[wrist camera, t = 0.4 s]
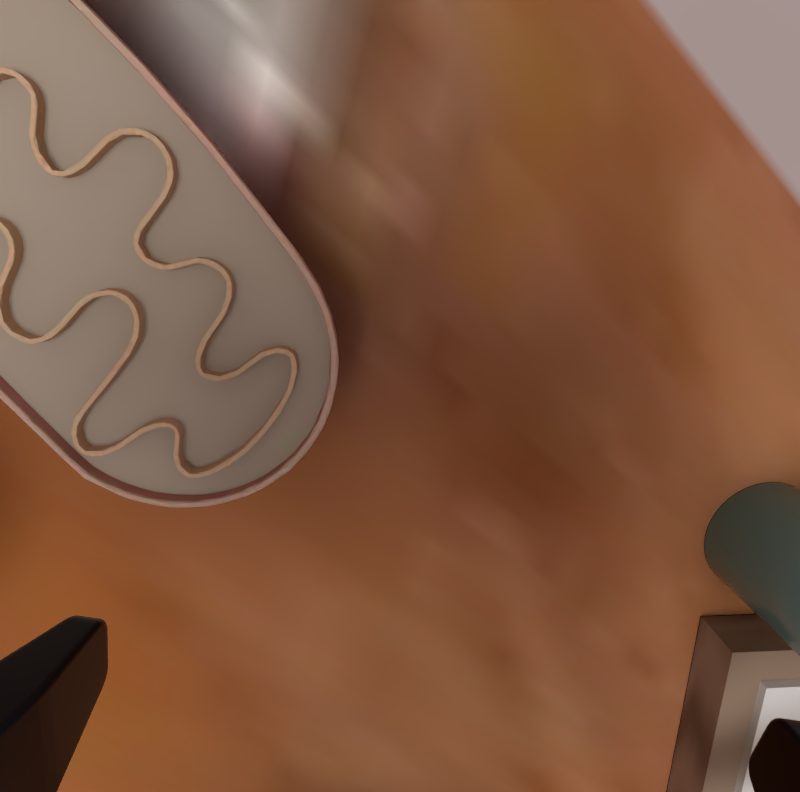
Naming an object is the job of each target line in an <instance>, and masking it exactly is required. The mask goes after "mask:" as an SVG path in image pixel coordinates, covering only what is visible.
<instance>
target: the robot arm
mask: <svg viewBox="0 0 800 792" xmlns="http://www.w3.org/2000/svg"><path fill="white" fill-rule="evenodd" d="M107 670H108V637H107V625H106V622H105V621H104V620H102V619H98V618H91V617H84V616H72V617H69V618H67V619H65V620H64V621H62V622H61V623H59V624H57V625H56V626H54V627H53V628H51V629H50V630H48V631H46V632H45V633H43V634H42V635H40V636H38V637H37V638H35V639H34V640H32V641H30V642H29V643H27V644H26V645H24V646H23V647H21V648H19V649H18V650H16V651H15V652H13V653H11V654H10V655H8V656H7V657H5V658H3V659H2V660H0V792H57V790H58V788H59V785H60V783H61V781H62V778H63V776H64V774H65V772H66V769H67V767H68V765H69V763H70V760H71V758H72V756H73V753H74V751H75V749H76V747H77V744H78V742H79V740H80V737H81V735H82V733H83V731H84V728H85V726H86V724H87V722H88V719H89V717H90V715H91V712H92V710H93V708H94V706H95V703H96V701H97V699H98V697H99V694H100V692H101V690H102V687H103V685H104V682H105V679H106V675H107ZM749 776H750V780H751V783H752V786H753V789H754V792H800V721H797V720H790V719H783V718H775V719H773V720H772V721H770V723H769V724H768V725H767V727H766V729H765V731H764V732H763V734H762V736H761V738H760V740H759V741H758V743H757V745H756V747H755V748H754V750H753V752H752V754H751V756H750V758H749Z"/></svg>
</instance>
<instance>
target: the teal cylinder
mask: <svg viewBox="0 0 800 792" xmlns="http://www.w3.org/2000/svg"><path fill="white" fill-rule="evenodd" d="M704 551H705V556H706V559H707V562H708V564H709V566H710V568H711V569H712V570H713V572H714V573H715V574H716V575H717V576H718V577H719V578H720V579H721V580H722V581H723V582H724V583H725V584H726V585H728V586H729V587H730V588H731V589H732V590H733V591H734V592H735V593H736V594H737V595H738V596H739V597H740V598H741V599H742V600H743V601H744V602H745V603H746V604H747V605H748V606H749V607H750V608H751V609H752V610H753V611H754V612H755V613H756V614H757V615H758V616H759V617H760V618H761V619H762V620H763V621H764V622H765V623H766V624H767V625H768V626H769V627H770V628H771V629H772V630H773V631H774V632H775V633H776V634H778V635H779V636H780V637H781V638H782V639H783V640H784V641H785V642H786V643H787V644H788V645H789V646H790V647H791V648H792V649H793V650H794V651H795V652H796V653H797V654H798V655H799V656H800V490H799V489H797V488H795V487H794V486H791V485H788V484H784V483H776V482H770V483H762V484H757V485H754V486H751V487H748V488H746V489H744V490H742V491H740V492H738V493H737V494H735V495H734V496H732V497H731V498H729V499H728V500H727V501H726V502H725V503H724V504H723V505H722V506H721V507H720V508H719V509H718V510H717V512H716V513H715V515H714V516H713V518H712V520H711V521H710V523H709V526H708V528H707V531H706V535H705V541H704Z"/></svg>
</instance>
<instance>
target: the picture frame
mask: <svg viewBox="0 0 800 792" xmlns="http://www.w3.org/2000/svg"><path fill="white" fill-rule="evenodd" d="M775 718H783V719H790V720H797V721H800V656H799V655H798V654H797V653H796V652H795V651H794V650H793V649H792V648H791V647H790V646H789V645H788V644H787V643H786V642H785V641H784V640H783V639H782V638H781V637H780V636H779V635H778V634H776V633H775V632H774V631H773V630H772V629H771V628H770V627H769V626H768V625H767V624H766V623H765V622H764V621H763V620H762V619H761V618H760V617H759V616H758V615H757V614H756V615H728V616H701V619H700V624H699V629H698V634H697V639H696V645H695V650H694V655H693V660H692V665H691V670H690V675H689V681H688V686H687V691H686V696H685V701H684V706H683V711H682V716H681V722H680V727H679V732H678V737H677V742H676V747H675V752H674V758H673V763H672V768H671V773H670V778H669V783H668V788H667V792H754V789H753V786H752V783H751V780H750V776H749V758H750V756H751V754H752V752H753V750H754V748H755V747H756V745H757V743H758V741H759V740H760V738H761V736H762V734H763V732H764V731H765V729H766V727H767V725H768V724H769V723H770V721H772V720H773V719H775Z"/></svg>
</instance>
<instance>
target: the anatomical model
mask: <svg viewBox="0 0 800 792" xmlns="http://www.w3.org/2000/svg"><path fill="white" fill-rule="evenodd" d="M338 368H339V355H338V341H337V335H336V330H335V326H334V322H333V318H332V313H331V311H330V309H329V306H328V304H327V301H326V299H325V297H324V294H323V292H322V289H321V287H320V286H319V284H318V282H317V281H316V279H315V277H314V276H313V274H312V273H311V271H310V269H309V268H308V266H307V265H306V263H305V261H304V260H303V258H302V257H301V255H300V254H299V253H298V251H297V250H296V249H295V248H294V246H293V245H292V244H291V242H290V241H289V240H288V238H287V237H286V236H285V235H284V233H283V232H282V231H281V229H280V228H279V227H278V225H277V224H276V223H275V222H274V220H273V219H272V218H271V216H270V215H269V214H268V212H267V211H266V210H265V209H264V207H263V206H262V205H261V203H260V202H259V201H258V199H257V198H256V197H255V195H254V194H253V193H252V192H251V190H250V189H249V188H248V186H247V185H246V184H245V182H244V181H243V180H242V179H241V177H240V176H239V175H238V173H237V172H236V171H235V169H234V168H233V167H232V166H231V164H230V163H229V162H228V160H227V159H226V158H225V156H224V155H223V154H222V153H221V151H220V150H219V149H218V147H217V146H216V145H215V144H214V143H213V142H212V140H211V139H210V138H209V137H208V136H207V135H206V133H205V132H204V131H203V130H202V129H201V128H200V127H199V125H198V124H197V123H196V122H195V121H194V120H193V118H192V117H191V116H190V115H189V114H188V113H187V112H186V110H185V109H184V108H183V107H182V106H181V105H180V103H179V102H178V101H177V100H176V99H175V98H174V97H173V95H172V94H171V93H170V92H169V91H168V90H167V88H166V87H165V86H164V85H163V84H162V83H161V82H160V80H159V79H158V78H157V77H156V76H155V75H154V73H153V72H152V71H151V70H150V69H149V68H148V67H147V66H146V65H145V64H144V63H143V62H142V60H141V59H140V58H139V57H138V56H137V55H136V54H135V53H134V52H133V51H132V50H131V49H130V48H129V47H128V46H127V45H126V44H125V43H124V42H123V41H122V39H121V38H120V37H119V36H118V35H117V34H116V33H115V32H114V31H113V30H112V29H111V28H110V27H109V26H108V25H107V24H106V23H105V22H104V21H103V20H102V19H101V17H100V16H99V15H98V14H97V13H96V12H95V11H94V10H93V9H92V8H91V7H90V6H89V5H87V4H86V3H85V2H84V1H83V0H0V398H1V399H2V400H3V401H4V402H5V403H6V404H7V405H8V406H9V407H10V408H11V409H12V410H13V411H14V412H15V413H16V414H17V415H18V416H19V417H20V418H21V419H22V420H23V421H24V422H26V423H27V424H28V425H29V426H30V427H31V428H32V429H33V430H34V431H35V432H36V433H37V434H38V435H39V436H40V437H41V438H42V439H43V440H44V441H45V442H46V443H47V444H48V445H49V446H50V447H51V448H52V449H53V450H54V451H55V452H56V453H57V454H59V455H60V456H61V457H62V458H63V459H64V460H65V461H66V462H67V463H68V464H69V465H70V466H71V467H72V468H74V469H75V470H76V471H77V472H78V473H79V474H80V475H81V476H82V477H84V478H85V479H87V480H89V481H91V482H93V483H95V484H97V485H99V486H101V487H103V488H105V489H107V490H109V491H111V492H113V493H115V494H117V495H119V496H122V497H125V498H128V499H132V500H136V501H139V502H143V503H147V504H152V505H158V506H165V507H205V506H212V505H219V504H223V503H226V502H230V501H233V500H237V499H240V498H244V497H246V496H248V495H250V494H252V493H255V492H257V491H259V490H261V489H263V488H265V487H267V486H268V485H270V484H271V483H272V482H274V481H275V480H277V479H278V478H280V477H281V476H283V475H284V474H286V473H287V472H288V471H290V470H291V469H292V468H293V466H294V465H295V464H296V463H297V462H298V461H299V460H300V459H301V458H302V457H303V456H304V455H305V454H306V453H307V452H308V451H309V449H310V448H311V446H312V445H313V443H314V442H315V440H316V438H317V437H318V435H319V434H320V432H321V431H322V429H323V427H324V425H325V422H326V420H327V418H328V415H329V413H330V410H331V407H332V403H333V399H334V395H335V391H336V388H337V379H338Z"/></svg>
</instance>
